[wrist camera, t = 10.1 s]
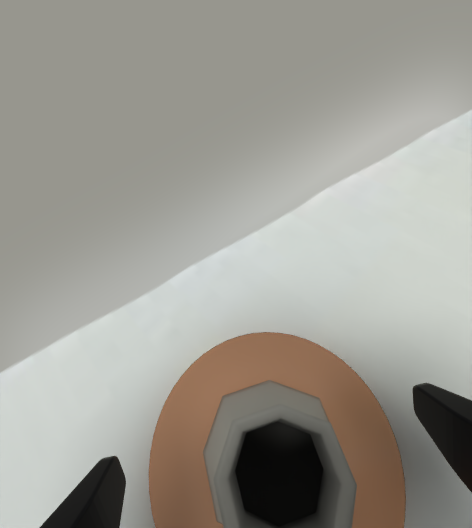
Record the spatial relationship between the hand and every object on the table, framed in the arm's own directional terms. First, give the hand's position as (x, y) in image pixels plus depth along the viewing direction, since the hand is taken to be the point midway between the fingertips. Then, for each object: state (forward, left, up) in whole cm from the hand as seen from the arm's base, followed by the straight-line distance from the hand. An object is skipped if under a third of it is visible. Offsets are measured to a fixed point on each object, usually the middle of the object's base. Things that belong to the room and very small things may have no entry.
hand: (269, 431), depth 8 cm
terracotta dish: (0, +1, -9) cm, 9 cm away
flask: (-1, +1, -8) cm, 8 cm away
